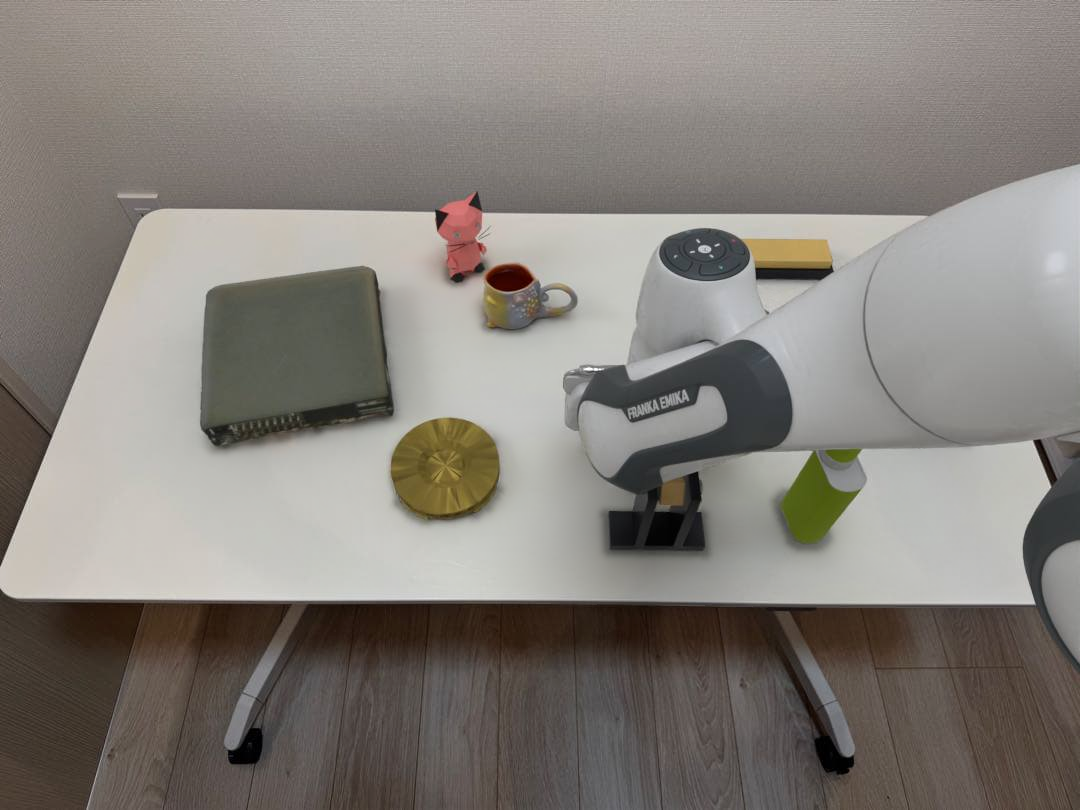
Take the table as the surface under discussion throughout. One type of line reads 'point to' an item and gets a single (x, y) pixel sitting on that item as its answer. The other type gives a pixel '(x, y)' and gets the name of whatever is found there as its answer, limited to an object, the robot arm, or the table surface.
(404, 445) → the gold round metal disc
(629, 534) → the switch bracket
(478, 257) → the cat figurine
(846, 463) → the vape
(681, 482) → the switch lever
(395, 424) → the table surface
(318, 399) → the network switch
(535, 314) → the mug
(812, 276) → the whetstone on a base
